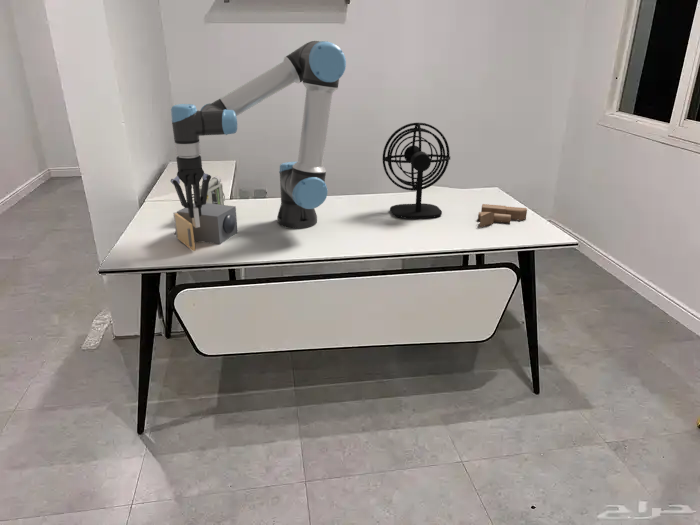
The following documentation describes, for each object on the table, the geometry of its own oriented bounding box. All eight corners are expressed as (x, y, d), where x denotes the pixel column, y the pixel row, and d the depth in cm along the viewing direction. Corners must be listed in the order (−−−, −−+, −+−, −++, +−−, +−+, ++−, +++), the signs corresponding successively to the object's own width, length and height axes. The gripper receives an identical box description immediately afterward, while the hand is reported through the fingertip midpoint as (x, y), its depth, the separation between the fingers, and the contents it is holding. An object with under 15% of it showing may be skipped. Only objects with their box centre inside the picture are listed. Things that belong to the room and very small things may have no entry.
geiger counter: (202, 188, 199) (229, 172, 222) (186, 187, 200) (214, 171, 223) (205, 224, 205) (232, 205, 227) (190, 223, 206) (217, 204, 228)
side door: (195, 250, 179) (192, 224, 176) (191, 251, 179) (188, 225, 175) (179, 237, 191) (176, 212, 187) (175, 238, 190) (171, 213, 186)
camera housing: (240, 233, 196) (237, 205, 192) (222, 244, 186) (219, 215, 182) (199, 227, 201) (196, 200, 197) (180, 238, 191) (176, 209, 187)
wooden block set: (480, 201, 216) (527, 204, 212) (478, 214, 219) (525, 218, 214) (477, 213, 201) (528, 218, 197) (476, 228, 204) (526, 232, 199)
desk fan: (442, 204, 229) (448, 119, 215) (454, 218, 213) (462, 127, 199) (378, 207, 226) (380, 120, 212) (386, 220, 210) (389, 128, 196)
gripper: (203, 151, 178) (210, 219, 187) (164, 155, 170) (173, 226, 180) (212, 155, 172) (219, 225, 181) (172, 160, 165) (181, 233, 174)
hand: (196, 226), depth 181 cm, fingers closed
